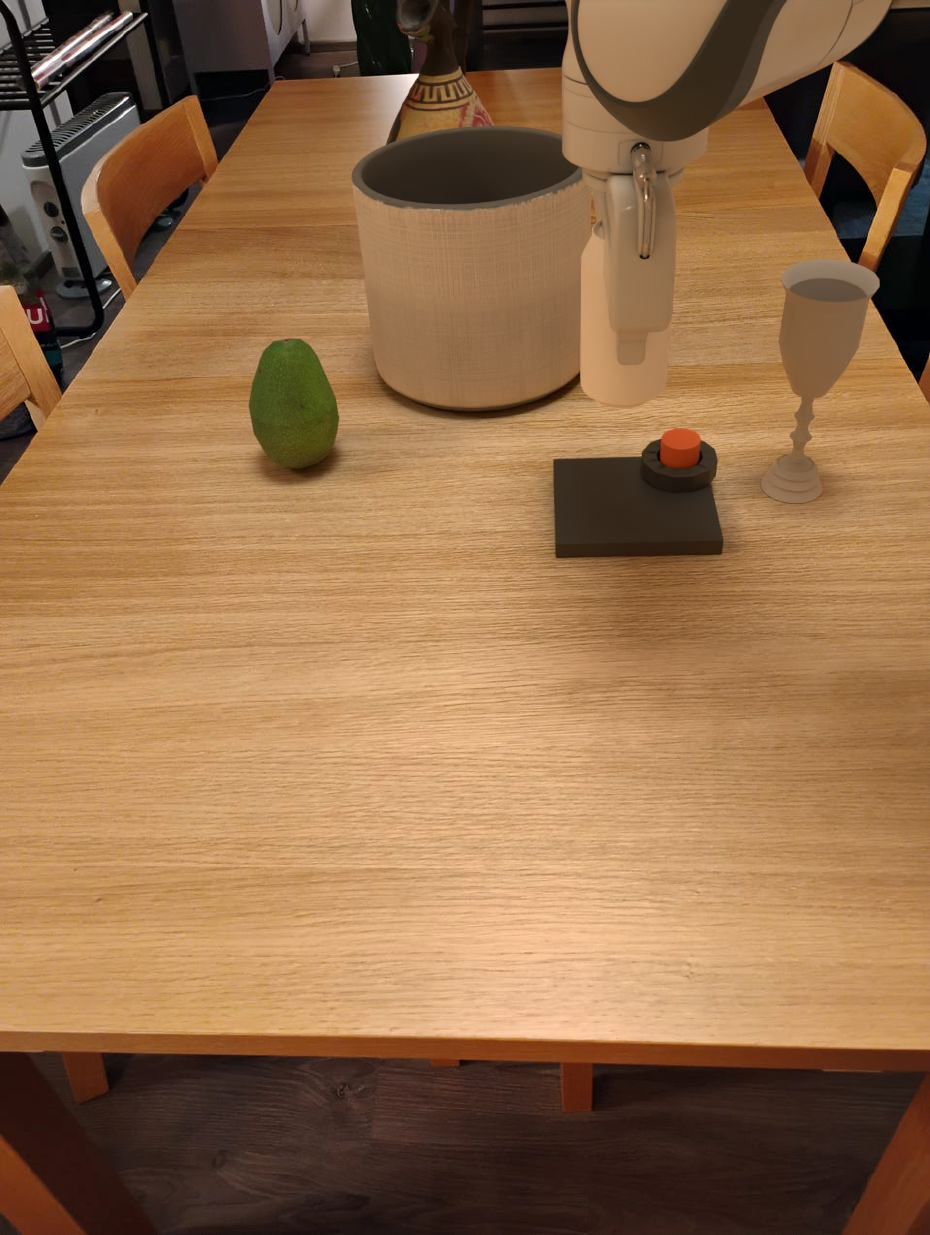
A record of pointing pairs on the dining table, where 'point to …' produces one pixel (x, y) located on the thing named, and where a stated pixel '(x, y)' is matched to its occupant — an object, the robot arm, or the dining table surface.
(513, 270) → the planter
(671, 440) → the button
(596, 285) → the beverage can
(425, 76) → the ceramic jug
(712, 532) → the scale
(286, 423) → the avocado
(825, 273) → the chalice
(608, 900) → the dining table surface
